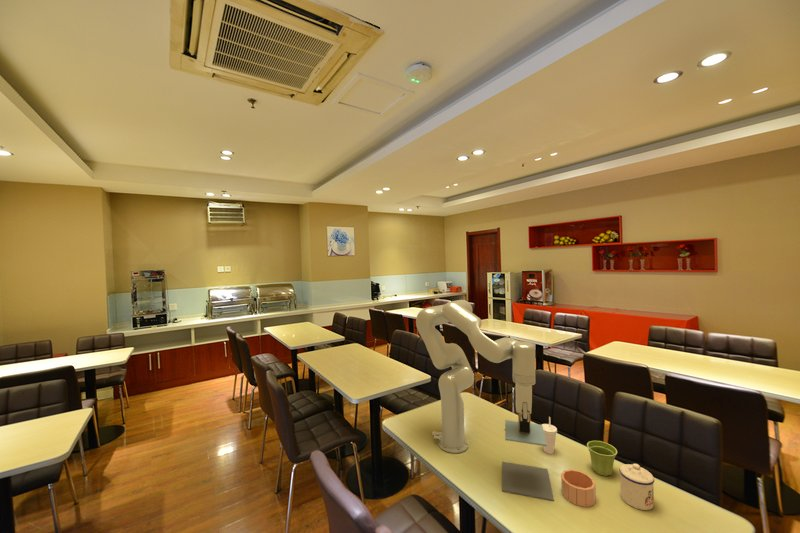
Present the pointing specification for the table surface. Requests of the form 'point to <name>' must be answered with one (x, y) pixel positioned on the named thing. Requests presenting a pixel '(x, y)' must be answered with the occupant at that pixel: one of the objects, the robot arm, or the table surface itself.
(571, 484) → the bowl
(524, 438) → the cover sheet
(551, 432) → the smoothie
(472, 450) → the table surface
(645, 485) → the teacup with lid
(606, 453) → the plant pot
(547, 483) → the mat
